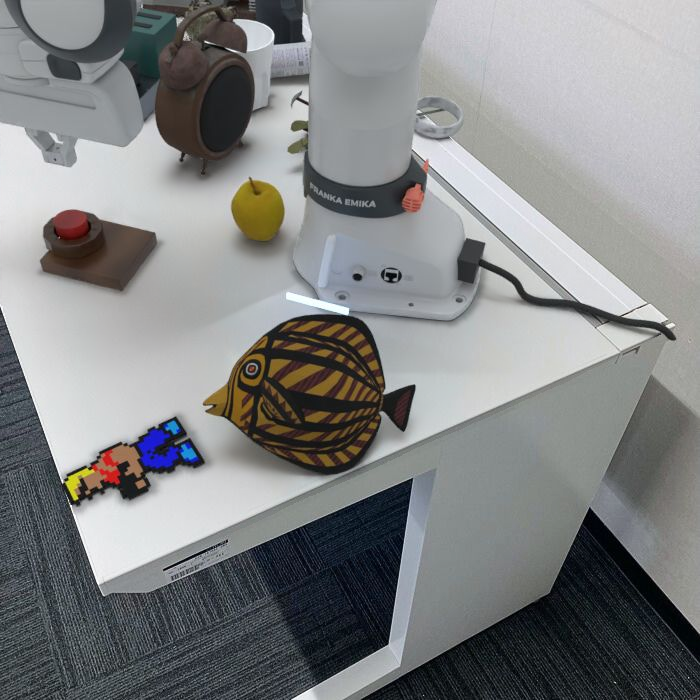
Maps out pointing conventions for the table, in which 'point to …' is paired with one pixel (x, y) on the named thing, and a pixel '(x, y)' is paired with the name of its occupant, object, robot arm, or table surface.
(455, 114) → the ring
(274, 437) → the decorative fish sculpture
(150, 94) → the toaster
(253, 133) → the table surface
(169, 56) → the alarm clock
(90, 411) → the table surface
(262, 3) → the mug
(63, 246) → the block
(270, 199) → the apple
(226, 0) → the model house
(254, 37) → the cup
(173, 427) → the pixel art figurine
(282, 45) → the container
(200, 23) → the rock
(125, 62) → the slider
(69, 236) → the button
